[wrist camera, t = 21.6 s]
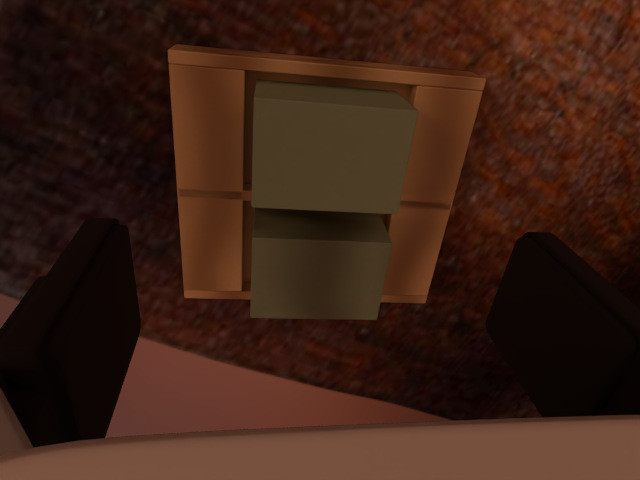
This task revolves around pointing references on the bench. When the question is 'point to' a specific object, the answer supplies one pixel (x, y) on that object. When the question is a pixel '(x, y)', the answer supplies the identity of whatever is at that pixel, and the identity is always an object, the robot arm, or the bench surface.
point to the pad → (329, 147)
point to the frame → (309, 225)
